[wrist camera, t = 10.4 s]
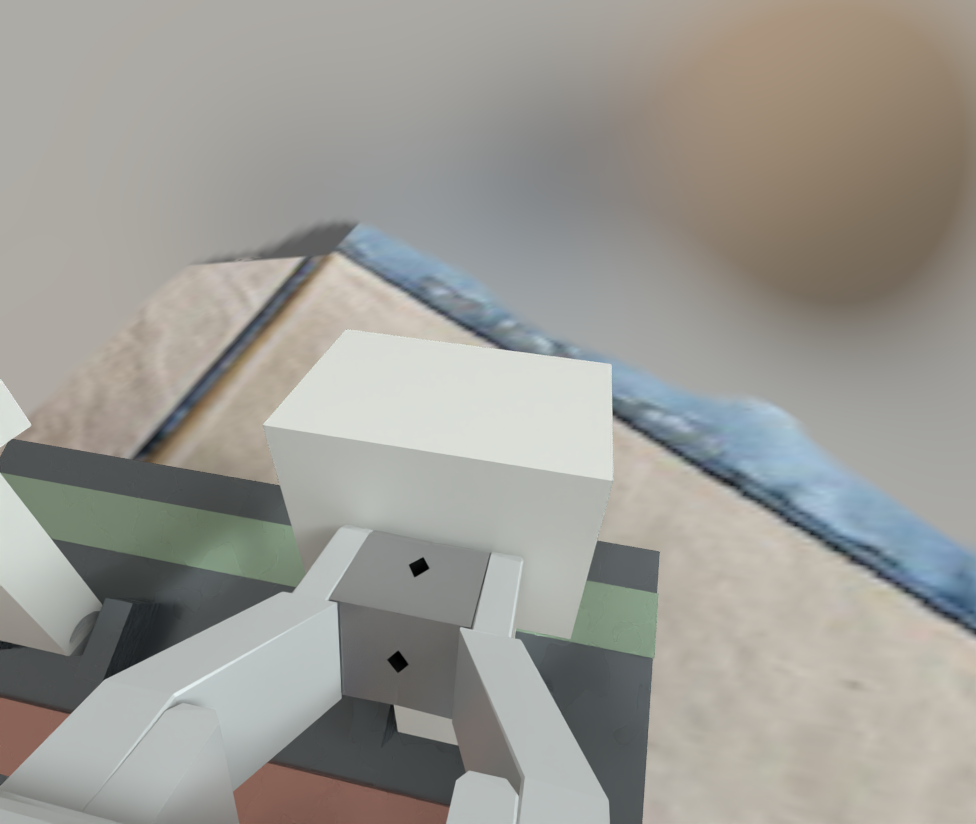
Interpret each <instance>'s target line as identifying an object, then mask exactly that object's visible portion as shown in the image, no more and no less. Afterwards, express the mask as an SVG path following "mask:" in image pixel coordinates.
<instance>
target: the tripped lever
mask: <svg viewBox="0 0 976 824" xmlns="http://www.w3.org/2000/svg"><path fill="white" fill-rule="evenodd" d="M263 428H264V432H265V435H266V439H267V442H268V446H269V449H270V453H271V456H272V460H273V463H274V467H275V470H276V473H277V477H278V480H279V484H280V487H281V491H282V494H283V498H284V501H285V505H286V508H287V512H288V515H289V518H290V522H291V525H292V529H293V532H294V536H295V539H296V543H297V546H298V550H299V553H300V557H301V560H302V563H303V567H304V570H305V574H306V573H307V571H308V570H309V569H310V567H311V566H312V564H313V563H314V562H315V560H316V559H317V558H318V556H319V555H320V553H321V552H322V551H323V549H324V548H325V547H326V545H327V544H328V542H329V541H330V540H331V538H332V537H333V536H334V534H335V533H336V531H337V530H338V529H339V528H341V527H342V526H344V525H351V526H355V527H360V528H365V529H370V530H373V531H374V530H377V531H382V532H387V533H392V534H397V535H401V536H406V537H411V538H416V539H421V540H426V541H430V542H435V543H440V544H446V545H452V546H457V547H463V548H469V549H474V550H480V551H486V552H491V553H492V552H496V553H502V554H509V555H515V556H521V557H522V558H523V566H522V573H521V580H520V587H519V594H518V601H517V607H516V614H515V621H514V628H513V635H512V638H515V633H516V628H517V629H522V630H527V631H532V632H537V633H542V634H547V635H552V636H557V637H562V638H567V639H571V635H572V631H573V628H574V624H575V620H576V617H577V613H578V609H579V606H580V602H581V598H582V595H583V591H584V587H585V583H586V580H587V576H588V572H589V569H590V565H591V561H592V558H593V554H594V550H595V547H596V543H597V539H598V536H599V532H600V528H601V524H602V521H603V517H604V513H605V510H606V506H607V502H608V499H609V495H610V491H611V488H612V484H613V431H612V368H611V364H606V363H599V362H591V361H584V360H576V359H569V358H561V357H553V356H546V355H538V354H531V353H523V352H516V351H508V350H501V349H493V348H486V347H478V346H470V345H463V344H455V343H448V342H440V341H433V340H425V339H418V338H410V337H402V336H395V335H387V334H380V333H372V332H365V331H357V330H350V329H346V330H345V331H344V332H343V333H342V334H341V336H340V337H339V338H338V339H337V340H336V341H335V342H334V344H333V345H332V346H331V347H330V348H329V349H328V351H327V352H326V353H325V354H324V355H323V356H322V357H321V359H320V360H319V361H318V362H317V363H316V364H315V365H314V367H313V368H312V369H311V370H310V371H309V372H308V373H307V375H306V376H305V377H304V378H303V379H302V380H301V381H300V383H299V384H298V385H297V386H296V387H295V388H294V389H293V391H292V392H291V393H290V394H289V395H288V396H287V397H286V399H285V400H284V401H283V402H282V403H281V404H280V406H279V407H278V408H277V409H276V410H275V411H274V412H273V414H272V415H271V416H270V417H269V418H268V419H267V420H266V422H265V423H264V424H263ZM394 710H395V717H396V723H397V730H398V732H401V733H406V734H410V735H414V736H419V737H423V738H428V739H432V740H436V741H441V742H445V743H449V744H454V745H458V743H457V739H456V735H455V732H454V728H453V725H452V719H448V718H444V717H440V716H436V715H433V714H429V713H425V712H421V711H417V710H413V709H409V708H405V707H401V706H398V705H394Z"/></svg>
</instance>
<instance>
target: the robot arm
mask: <svg viewBox="0 0 976 824" xmlns="http://www.w3.org/2000/svg"><path fill="white" fill-rule="evenodd" d="M522 566H523V558H522V557H521V556H515V555H509V554H502V553H496V552H492V553H491V552H486V551H480V550H474V549H469V548H463V547H457V546H452V545H446V544H440V543H435V542H430V541H426V540H421V539H416V538H411V537H406V536H401V535H397V534H392V533H387V532H382V531H377V530H374V531H373V530H370V529H365V528H360V527H355V526H351V525H344V526H342V527H341V528H339V529H338V530H337V531H336V533H335V534H334V536H333V537H332V538H331V540H330V541H329V542H328V544H327V545H326V547H325V548H324V549H323V551H322V552H321V553H320V555H319V556H318V558H317V559H316V560H315V562H314V563H313V564H312V566H311V567H310V569H309V570H308V571H307V573H306V574H305V575H304V577H303V578H302V580H301V581H300V582H299V584H298V585H297V586H296V588H295V589H294V591H293V592H292V593H288V592H280V593H278V594H276V595H274V596H272V597H270V598H268V599H266V600H264V601H262V602H260V603H258V604H256V605H254V606H252V607H250V608H248V609H246V610H244V611H242V612H240V613H238V614H236V615H234V616H232V617H230V618H228V619H226V620H224V621H222V622H220V623H218V624H216V625H214V626H212V627H210V628H208V629H206V630H204V631H202V632H200V633H198V634H196V635H194V636H192V637H190V638H188V639H186V640H184V641H182V642H180V643H178V644H176V645H174V646H172V647H170V648H168V649H166V650H164V651H162V652H160V653H158V654H156V655H154V656H152V657H150V658H148V659H146V660H144V661H142V662H140V663H137V664H135V665H133V666H131V667H129V668H127V669H125V670H123V671H121V672H119V673H117V674H115V675H113V676H111V677H109V678H107V679H105V680H104V681H103V682H102V683H101V684H100V685H99V686H98V687H97V688H96V689H95V690H94V691H93V692H92V693H91V694H90V695H89V696H88V697H87V698H86V699H85V700H84V701H83V702H82V703H81V704H80V705H79V706H78V707H77V708H76V709H75V710H74V711H73V712H72V713H71V714H70V715H69V716H68V717H67V718H66V719H65V721H64V722H63V723H62V724H61V725H60V726H59V727H58V728H57V729H56V730H55V731H54V732H53V733H52V734H51V735H50V736H49V737H48V738H47V739H46V740H45V741H44V742H43V743H42V744H41V745H40V746H39V747H38V748H37V749H36V750H35V751H34V752H33V753H32V754H31V755H30V756H29V757H28V758H27V759H26V760H25V761H24V762H23V763H22V764H21V765H20V766H19V767H18V768H17V769H16V770H15V771H14V772H13V773H12V775H11V776H10V777H9V778H8V779H7V780H6V781H5V782H4V783H3V784H2V785H1V786H0V824H239V819H238V814H237V809H236V804H235V799H234V794H233V791H234V790H236V789H237V788H238V787H239V786H240V785H241V784H243V783H244V782H245V781H246V780H247V779H248V778H250V777H251V776H252V775H253V774H254V773H255V772H257V771H258V770H259V769H260V768H261V767H262V766H264V765H265V764H266V763H267V762H268V761H269V760H271V759H272V758H273V757H274V756H275V755H276V754H278V753H279V752H280V751H281V750H282V749H283V748H285V747H286V746H287V745H288V744H289V743H290V742H291V741H293V740H294V739H295V738H296V737H297V736H298V735H300V734H301V733H302V732H303V731H304V730H305V729H307V728H308V727H309V726H310V725H311V724H312V723H314V722H315V721H316V720H317V719H318V718H319V717H321V716H322V715H323V714H324V713H325V712H326V711H328V710H329V709H330V708H331V707H332V706H333V705H335V704H336V703H337V702H338V701H339V700H340V699H341V698H342V695H346V696H351V697H356V698H361V699H367V700H372V701H377V702H382V703H387V704H393V705H398V706H401V707H405V708H409V709H413V710H417V711H421V712H425V713H429V714H433V715H436V716H440V717H444V718H448V719H452V725H453V728H454V732H455V735H456V739H457V743H458V746H459V750H460V753H461V757H462V760H463V764H464V767H465V771H466V773H465V774H464V775H463V776H461V777H460V778H459V779H457V780H456V783H455V787H454V792H453V796H452V800H451V805H450V809H449V813H448V818H447V822H446V824H610V816H609V800H608V798H607V796H606V794H605V793H604V791H603V789H602V787H601V785H600V783H599V782H598V780H597V778H596V776H595V774H594V772H593V771H592V769H591V767H590V765H589V763H588V761H587V760H586V758H585V756H584V754H583V752H582V751H581V749H580V747H579V745H578V743H577V741H576V740H575V738H574V736H573V734H572V732H571V730H570V729H569V727H568V725H567V723H566V721H565V719H564V718H563V716H562V714H561V712H560V710H559V708H558V707H557V705H556V703H555V701H554V699H553V697H552V696H551V694H550V692H549V690H548V688H547V687H546V685H545V683H544V681H543V679H542V677H541V676H540V674H539V672H538V670H537V668H536V666H535V665H534V663H533V661H532V659H531V657H530V655H529V654H528V652H527V650H526V648H525V646H524V644H523V643H522V641H521V640H520V639H515V638H512V635H513V628H514V621H515V614H516V607H517V601H518V594H519V587H520V580H521V573H522Z"/></svg>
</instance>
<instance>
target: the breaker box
mask: <svg viewBox="0 0 976 824" xmlns="http://www.w3.org/2000/svg"><path fill="white" fill-rule="evenodd" d="M0 474H1V475H2V476H3V478H4V479H5V480H6V481H7V483H8V484H9V485H10V487H11V488H12V489H13V490H14V492H15V493H16V494H17V496H18V497H19V498H20V499H21V501H22V502H23V503H24V505H25V506H26V507H27V508H28V510H29V511H30V512H31V514H32V515H33V516H34V517H35V519H36V520H37V521H38V523H39V524H40V525H41V526H42V528H43V529H44V530H45V532H46V533H47V534H48V535H49V537H50V538H51V539H52V541H53V542H54V543H55V544H56V546H57V547H58V548H59V550H60V551H61V552H62V554H63V555H64V556H65V557H66V559H67V560H68V561H69V563H70V564H71V565H72V566H73V568H74V569H75V570H76V572H77V573H78V574H79V575H80V577H81V578H82V579H83V581H84V582H85V583H86V584H87V586H88V587H89V588H90V590H91V591H92V592H93V593H94V595H95V596H96V597H97V599H98V600H99V601H100V602H101V604H102V605H103V606H102V608H101V611H100V613H99V616H98V618H97V621H96V623H95V626H94V628H93V631H92V633H91V635H90V638H89V640H88V643H87V645H86V648H85V650H84V653H83V655H80V656H76V655H72V654H71V655H70V656H66V655H62V654H57V653H53V652H48V651H44V650H40V649H35V648H31V647H27V646H22V645H18V644H14V643H9V642H5V641H1V640H0V786H1V785H2V784H3V783H4V782H5V781H6V780H7V779H8V778H9V777H10V776H11V775H12V773H13V772H14V771H15V770H16V769H17V768H18V767H19V766H20V765H21V764H22V763H23V762H24V761H25V760H26V759H27V758H28V757H29V756H30V755H31V754H32V753H33V752H34V751H35V750H36V749H37V748H38V747H39V746H40V745H41V744H42V743H43V742H44V741H45V740H46V739H47V738H48V737H49V736H50V735H51V734H52V733H53V732H54V731H55V730H56V729H57V728H58V727H59V726H60V725H61V724H62V723H63V722H64V721H65V719H66V718H67V717H68V716H69V715H70V714H71V713H72V712H73V711H74V710H75V709H76V708H77V707H78V706H79V705H80V704H81V703H82V702H83V701H84V700H85V699H86V698H87V697H88V696H89V695H90V694H91V693H92V692H93V691H94V690H95V689H96V688H97V687H98V686H99V685H100V684H101V683H102V682H103V681H104V680H105V679H107V678H109V677H111V676H113V675H115V674H117V673H119V672H121V671H123V670H125V669H127V668H129V667H131V666H133V665H135V664H137V663H140V662H142V661H144V660H146V659H148V658H150V657H152V656H154V655H156V654H158V653H160V652H162V651H164V650H166V649H168V648H170V647H172V646H174V645H176V644H178V643H180V642H182V641H184V640H186V639H188V638H190V637H192V636H194V635H196V634H198V633H200V632H202V631H204V630H206V629H208V628H210V627H212V626H214V625H216V624H218V623H220V622H222V621H224V620H226V619H228V618H230V617H232V616H234V615H236V614H238V613H240V612H242V611H244V610H246V609H248V608H250V607H252V606H254V605H256V604H258V603H260V602H262V601H264V600H266V599H268V598H270V597H272V596H274V595H276V594H278V593H280V592H288V593H292V592H293V591H294V589H295V588H296V586H297V585H298V584H299V582H300V581H301V580H302V578H303V577H304V575H305V570H304V567H303V563H302V560H301V557H300V553H299V550H298V546H297V543H296V539H295V536H294V532H293V529H292V525H291V522H290V518H289V515H288V512H287V508H286V505H285V501H284V498H283V494H282V491H281V487H280V485H274V484H268V483H263V482H257V481H251V480H246V479H240V478H234V477H228V476H223V475H217V474H211V473H205V472H200V471H194V470H188V469H182V468H177V467H171V466H165V465H159V464H154V463H148V462H142V461H136V460H131V459H125V458H119V457H113V456H108V455H102V454H96V453H90V452H85V451H79V450H73V449H68V448H62V447H56V446H50V445H45V444H39V443H33V442H27V441H22V440H16V439H11V440H10V441H9V442H8V443H7V445H6V447H5V449H4V451H3V453H2V455H1V457H0ZM659 553H660V552H659V551H653V550H647V549H642V548H636V547H630V546H625V545H619V544H613V543H607V542H602V541H597V543H596V547H595V550H594V554H593V558H592V561H591V565H590V569H589V572H588V576H587V580H586V583H585V587H584V591H583V595H582V598H581V602H580V606H579V609H578V613H577V617H576V620H575V624H574V628H573V631H572V635H571V639H567V638H562V637H557V636H552V635H547V634H542V633H537V632H532V631H527V630H522V629H517V628H516V633H515V639H520V640H521V641H522V643H523V644H524V646H525V648H526V650H527V652H528V654H529V655H530V657H531V659H532V661H533V663H534V665H535V666H536V668H537V670H538V672H539V674H540V676H541V677H542V679H543V681H544V683H545V685H546V687H547V688H548V690H549V692H550V694H551V696H552V697H553V699H554V701H555V703H556V705H557V707H558V708H559V710H560V712H561V714H562V716H563V718H564V719H565V721H566V723H567V725H568V727H569V729H570V730H571V732H572V734H573V736H574V738H575V740H576V741H577V743H578V745H579V747H580V749H581V751H582V752H583V754H584V756H585V758H586V760H587V761H588V763H589V765H590V767H591V769H592V771H593V772H594V774H595V776H596V778H597V780H598V782H599V783H600V785H601V787H602V789H603V791H604V793H605V794H606V796H607V798H608V800H609V816H610V824H642V818H643V802H644V787H645V771H646V756H647V740H648V724H649V709H650V693H651V678H652V662H653V658H654V655H655V639H656V623H657V607H658V593H657V584H658V569H659ZM465 773H466V771H465V767H464V764H463V760H462V757H461V753H460V750H459V746H458V745H454V744H449V743H445V742H441V741H436V740H432V739H428V738H423V737H419V736H414V735H410V734H406V733H401V732H398V730H397V723H396V717H395V710H394V705H393V704H387V703H382V702H377V701H372V700H367V699H361V698H356V697H351V696H346V695H342V698H341V699H340V700H339V701H338V702H337V703H336V704H335V705H333V706H332V707H331V708H330V709H329V710H328V711H326V712H325V713H324V714H323V715H322V716H321V717H319V718H318V719H317V720H316V721H315V722H314V723H312V724H311V725H310V726H309V727H308V728H307V729H305V730H304V731H303V732H302V733H301V734H300V735H298V736H297V737H296V738H295V739H294V740H293V741H291V742H290V743H289V744H288V745H287V746H286V747H285V748H283V749H282V750H281V751H280V752H279V753H278V754H276V755H275V756H274V757H273V758H272V759H271V760H269V761H268V762H267V763H266V764H265V765H264V766H262V767H261V768H260V769H259V770H258V771H257V772H255V773H254V774H253V775H252V776H251V777H250V778H248V779H247V780H246V781H245V782H244V783H243V784H241V785H240V786H239V787H238V788H237V789H236V790H234V791H233V794H234V799H235V804H236V809H237V814H238V819H239V824H446V822H447V818H448V813H449V809H450V805H451V800H452V796H453V792H454V787H455V783H456V780H457V779H459V778H460V777H461V776H463V775H464V774H465Z"/></svg>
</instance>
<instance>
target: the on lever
mask: <svg viewBox="0 0 976 824" xmlns="http://www.w3.org/2000/svg"><path fill="white" fill-rule="evenodd" d="M30 426H31V423H30V422H29V420H28V419H27V417H26V416H25V414H24V413H23V411H22V410H21V408H20V407H19V405H18V404H17V402H16V401H15V399H14V398H13V396H12V395H11V393H10V392H9V391H8V389H7V387H6V386H5V385H4V383H3V382H2V380H1V378H0V447H1V446H3V445H4V444H6V443H7V442H9V441H10V440H11V439H13V438H14V437H16V436H17V435H18V434H20V433H21V432H23V431H24V430H26V429H27V428H28V427H30ZM102 606H103V605H102V604H101V602H100V601H99V600H98V599H97V597H96V596H95V595H94V593H93V592H92V591H91V590H90V588H89V587H88V586H87V584H86V583H85V582H84V581H83V579H82V578H81V577H80V575H79V574H78V573H77V572H76V570H75V569H74V568H73V566H72V565H71V564H70V563H69V561H68V560H67V559H66V557H65V556H64V555H63V554H62V552H61V551H60V550H59V548H58V547H57V546H56V544H55V543H54V542H53V541H52V539H51V538H50V537H49V535H48V534H47V533H46V532H45V530H44V529H43V528H42V526H41V525H40V524H39V523H38V521H37V520H36V519H35V517H34V516H33V515H32V514H31V512H30V511H29V510H28V508H27V507H26V506H25V505H24V503H23V502H22V501H21V499H20V498H19V497H18V496H17V494H16V493H15V492H14V490H13V489H12V488H11V487H10V485H9V484H8V483H7V481H6V480H5V479H4V478H3V476H2V475H1V474H0V640H1V641H5V642H9V643H14V644H18V645H22V646H27V647H31V648H35V649H40V650H44V651H48V652H53V653H57V654H62V655H66V656H70V655H71V654H72V655H76V656H80V655H83V653H84V650H85V648H86V645H87V643H88V640H89V638H90V635H91V633H92V631H93V628H94V626H95V623H96V621H97V618H98V616H99V613H100V611H101V608H102Z"/></svg>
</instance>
